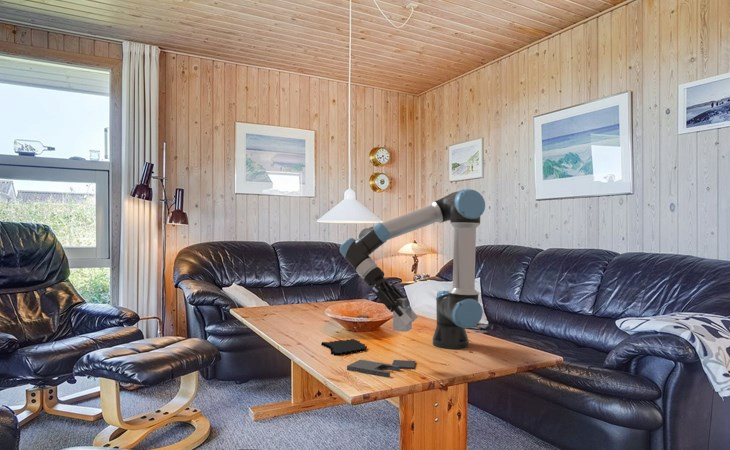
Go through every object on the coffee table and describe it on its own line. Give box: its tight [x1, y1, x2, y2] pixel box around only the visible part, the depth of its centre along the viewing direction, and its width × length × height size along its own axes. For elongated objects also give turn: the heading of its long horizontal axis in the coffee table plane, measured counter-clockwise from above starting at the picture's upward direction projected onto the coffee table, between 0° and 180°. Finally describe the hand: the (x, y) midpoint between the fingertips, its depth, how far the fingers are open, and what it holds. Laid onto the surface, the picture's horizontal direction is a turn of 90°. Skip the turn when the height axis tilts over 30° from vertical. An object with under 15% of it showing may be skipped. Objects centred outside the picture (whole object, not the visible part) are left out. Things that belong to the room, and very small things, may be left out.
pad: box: [391, 359, 416, 370], centre depth 162 cm, size 8×8×1 cm
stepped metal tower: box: [392, 298, 413, 333], centre depth 162 cm, size 5×5×11 cm
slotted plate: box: [346, 359, 401, 378], centre depth 157 cm, size 16×9×1 cm, turn 60°
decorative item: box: [321, 338, 368, 357], centre depth 187 cm, size 23×2×20 cm
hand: (412, 320), depth 160 cm, fingers closed on stepped metal tower, 5 cm apart
